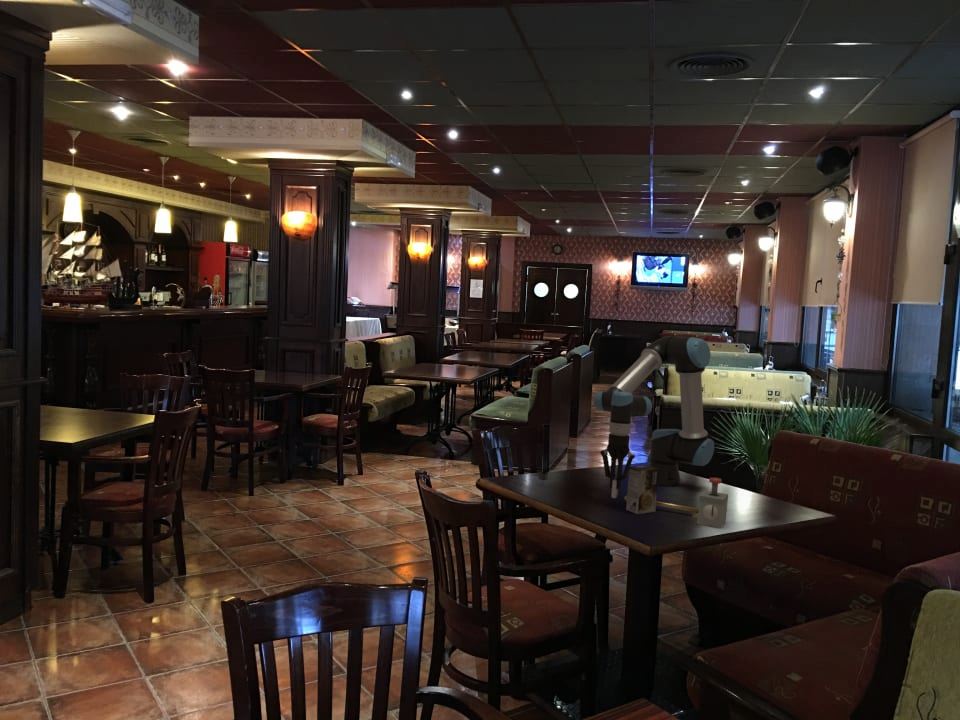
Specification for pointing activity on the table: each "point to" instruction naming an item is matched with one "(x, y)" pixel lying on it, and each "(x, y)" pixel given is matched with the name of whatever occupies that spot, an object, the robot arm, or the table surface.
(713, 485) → the plunger
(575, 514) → the table surface
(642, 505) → the coffee box
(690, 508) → the rail
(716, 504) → the cabinet
